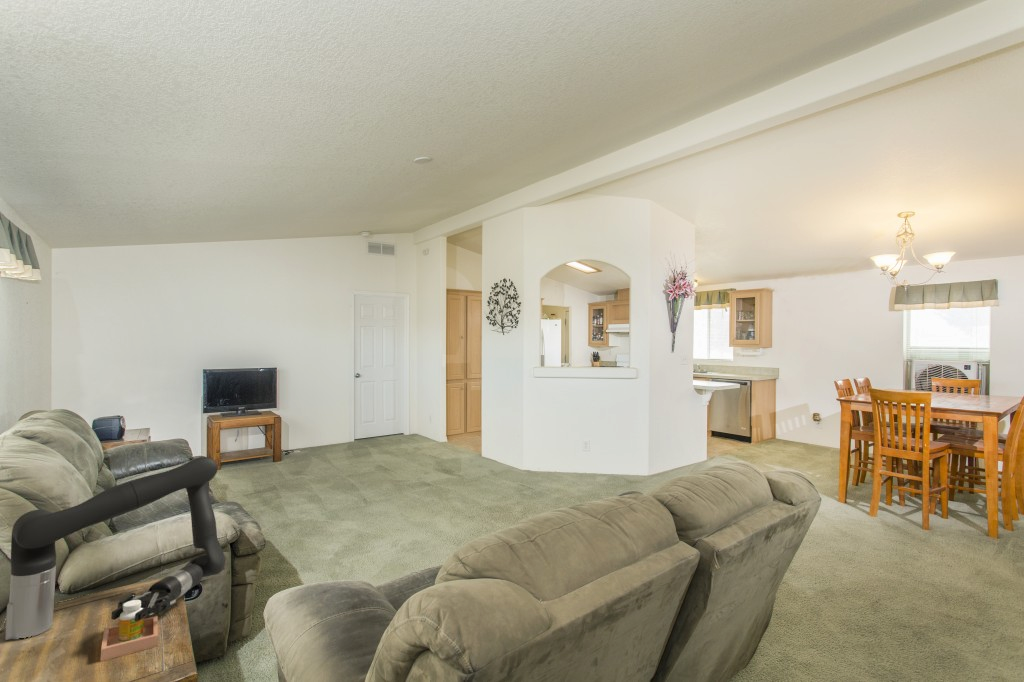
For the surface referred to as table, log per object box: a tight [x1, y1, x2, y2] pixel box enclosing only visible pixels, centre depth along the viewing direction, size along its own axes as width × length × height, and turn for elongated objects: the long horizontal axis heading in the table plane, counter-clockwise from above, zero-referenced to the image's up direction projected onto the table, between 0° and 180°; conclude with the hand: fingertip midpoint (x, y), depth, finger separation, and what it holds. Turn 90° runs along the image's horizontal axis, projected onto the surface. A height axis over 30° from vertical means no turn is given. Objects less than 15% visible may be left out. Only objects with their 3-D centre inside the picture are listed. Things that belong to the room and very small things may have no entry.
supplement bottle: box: [118, 600, 145, 643], centre depth 136 cm, size 5×5×10 cm
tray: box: [100, 615, 159, 662], centre depth 136 cm, size 12×12×3 cm
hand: (124, 616), depth 134 cm, fingers open, 6 cm apart
